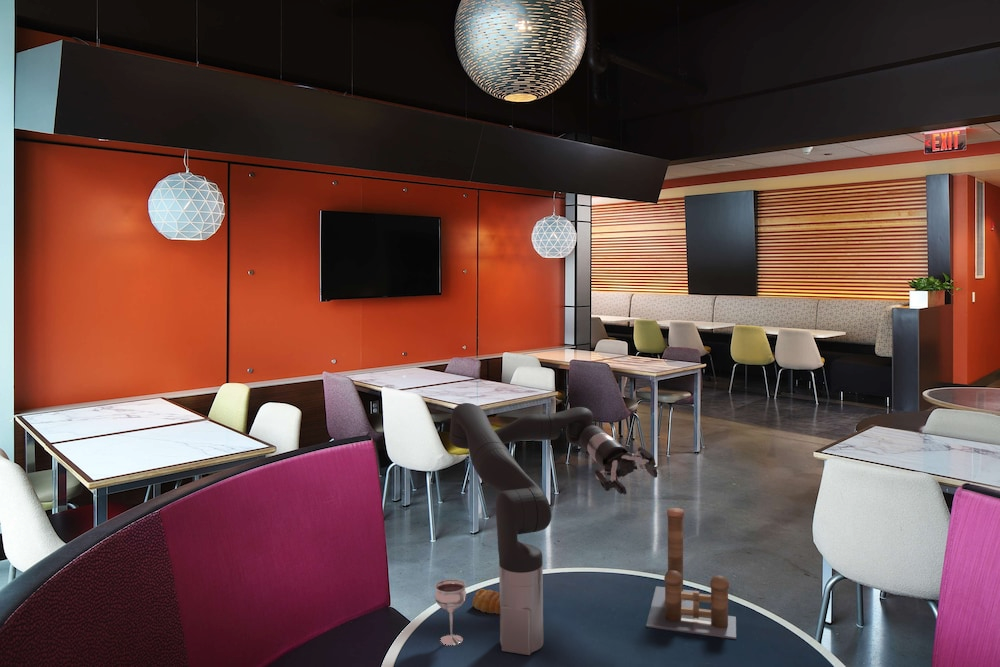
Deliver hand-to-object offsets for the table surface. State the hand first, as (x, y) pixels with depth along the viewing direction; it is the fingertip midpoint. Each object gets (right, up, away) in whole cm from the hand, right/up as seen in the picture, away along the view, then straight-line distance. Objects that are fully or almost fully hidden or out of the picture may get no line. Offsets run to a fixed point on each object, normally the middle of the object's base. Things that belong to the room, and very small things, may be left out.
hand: (640, 482), depth 162 cm
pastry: (-35, -31, +3) cm, 47 cm away
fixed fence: (+11, -30, -6) cm, 33 cm away
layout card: (+12, -30, 0) cm, 32 cm away
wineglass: (-43, -32, -12) cm, 55 cm away
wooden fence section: (+9, -29, +3) cm, 30 cm away
